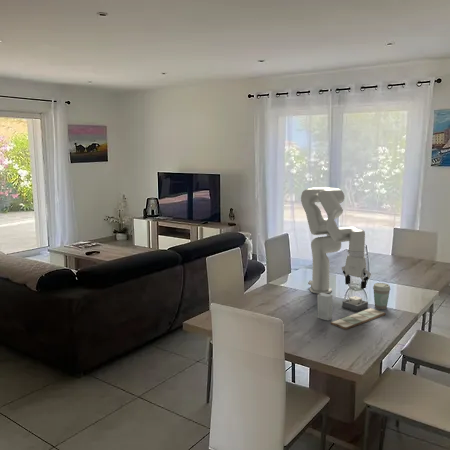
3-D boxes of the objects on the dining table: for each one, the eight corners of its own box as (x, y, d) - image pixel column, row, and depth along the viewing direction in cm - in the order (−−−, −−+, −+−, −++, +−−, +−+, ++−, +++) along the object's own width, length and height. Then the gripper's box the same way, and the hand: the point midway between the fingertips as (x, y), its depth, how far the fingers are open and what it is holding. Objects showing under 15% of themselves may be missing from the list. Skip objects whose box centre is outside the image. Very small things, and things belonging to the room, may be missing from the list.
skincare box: (332, 318, 220) (333, 294, 218) (327, 321, 217) (328, 297, 215) (321, 315, 224) (321, 292, 222) (316, 318, 221) (317, 294, 219)
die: (348, 306, 235) (349, 297, 235) (354, 304, 238) (354, 295, 237) (355, 308, 232) (356, 299, 231) (361, 306, 234) (361, 298, 233)
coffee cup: (378, 311, 229) (379, 288, 227) (368, 305, 237) (369, 283, 235) (393, 309, 231) (394, 286, 229) (383, 303, 239) (384, 281, 237)
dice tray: (342, 306, 236) (342, 301, 235) (353, 303, 241) (353, 297, 241) (356, 311, 229) (356, 305, 228) (367, 307, 234) (367, 302, 234)
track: (330, 323, 214) (330, 321, 213) (370, 309, 231) (370, 307, 231) (346, 329, 206) (346, 327, 206) (385, 314, 224) (385, 312, 224)
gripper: (338, 251, 235) (337, 283, 238) (366, 258, 221) (365, 291, 224) (347, 249, 239) (346, 281, 242) (375, 255, 225) (374, 288, 228)
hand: (355, 286), depth 233 cm, fingers open, 9 cm apart
